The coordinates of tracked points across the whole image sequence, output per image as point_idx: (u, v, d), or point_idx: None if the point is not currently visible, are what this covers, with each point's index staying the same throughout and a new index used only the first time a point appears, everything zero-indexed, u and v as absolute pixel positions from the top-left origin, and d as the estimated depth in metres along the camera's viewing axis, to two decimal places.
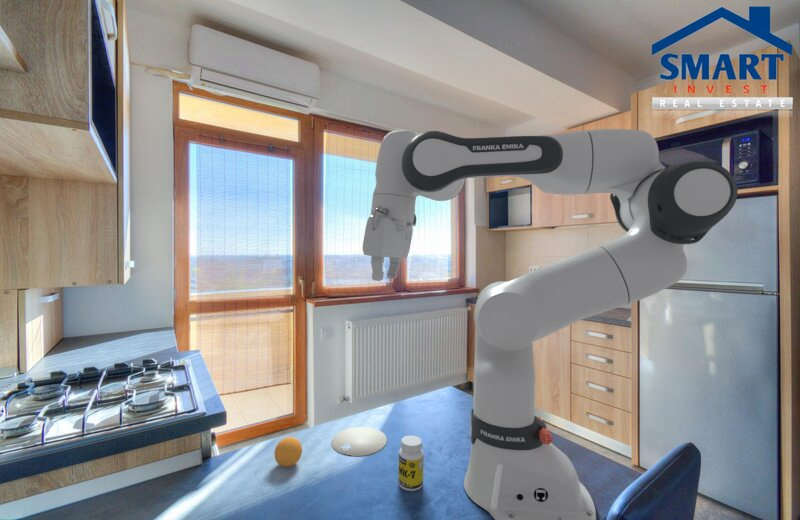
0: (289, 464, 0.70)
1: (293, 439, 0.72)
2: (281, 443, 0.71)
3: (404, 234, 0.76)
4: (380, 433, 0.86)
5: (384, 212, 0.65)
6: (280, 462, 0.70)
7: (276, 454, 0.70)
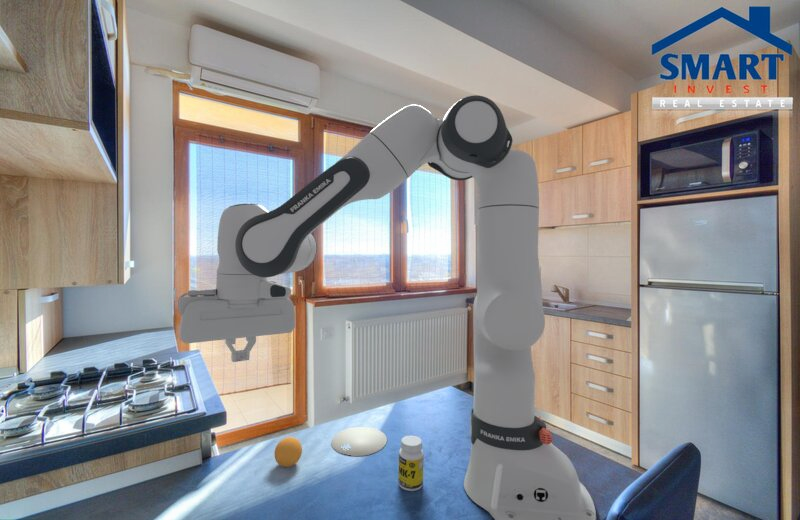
0: (289, 464, 0.70)
1: (293, 439, 0.72)
2: (281, 443, 0.71)
3: (273, 308, 0.69)
4: (380, 433, 0.86)
5: (205, 294, 0.63)
6: (280, 462, 0.70)
7: (276, 454, 0.70)
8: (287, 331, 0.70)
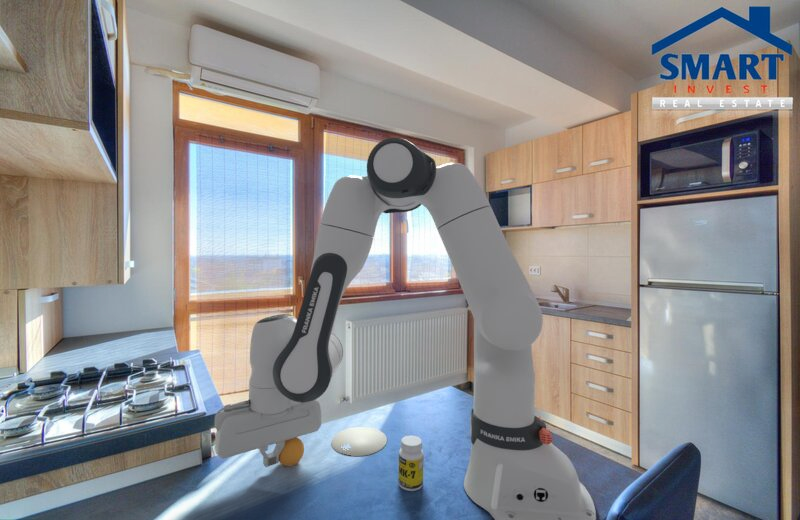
0: (290, 463, 0.70)
1: (297, 439, 0.73)
2: (285, 441, 0.72)
3: (301, 411, 0.72)
4: (380, 433, 0.86)
5: (239, 407, 0.66)
6: (282, 459, 0.70)
7: None
8: (314, 430, 0.74)
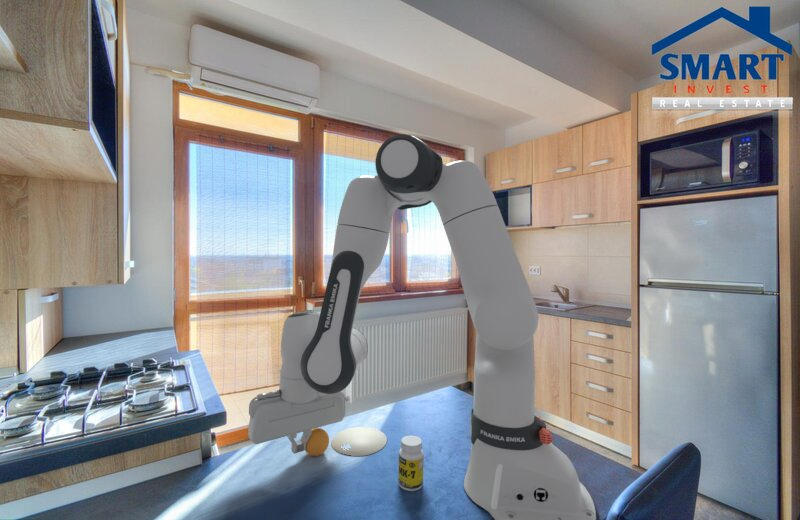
0: (313, 447, 0.74)
1: None
2: None
3: (327, 401, 0.76)
4: (380, 433, 0.86)
5: (271, 396, 0.70)
6: (312, 437, 0.75)
7: (315, 430, 0.76)
8: (338, 420, 0.78)
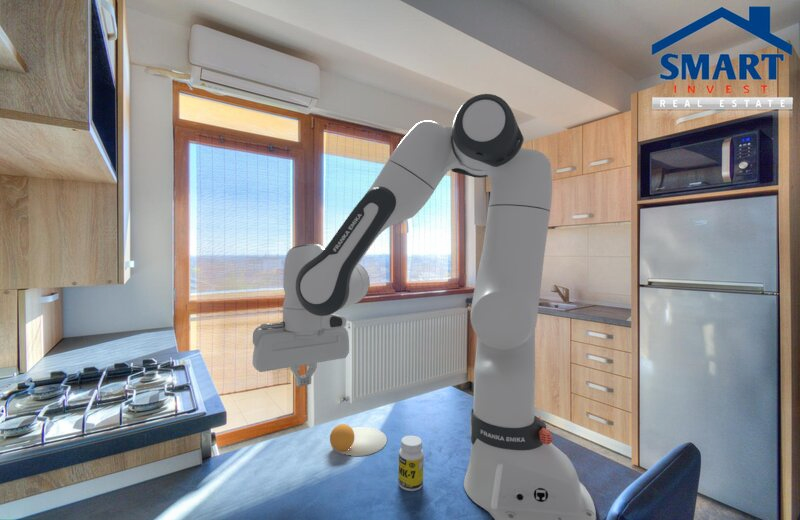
0: (347, 439, 0.76)
1: None
2: None
3: (330, 337, 0.76)
4: (380, 433, 0.86)
5: (275, 327, 0.70)
6: (353, 439, 0.78)
7: None
8: (342, 357, 0.78)
